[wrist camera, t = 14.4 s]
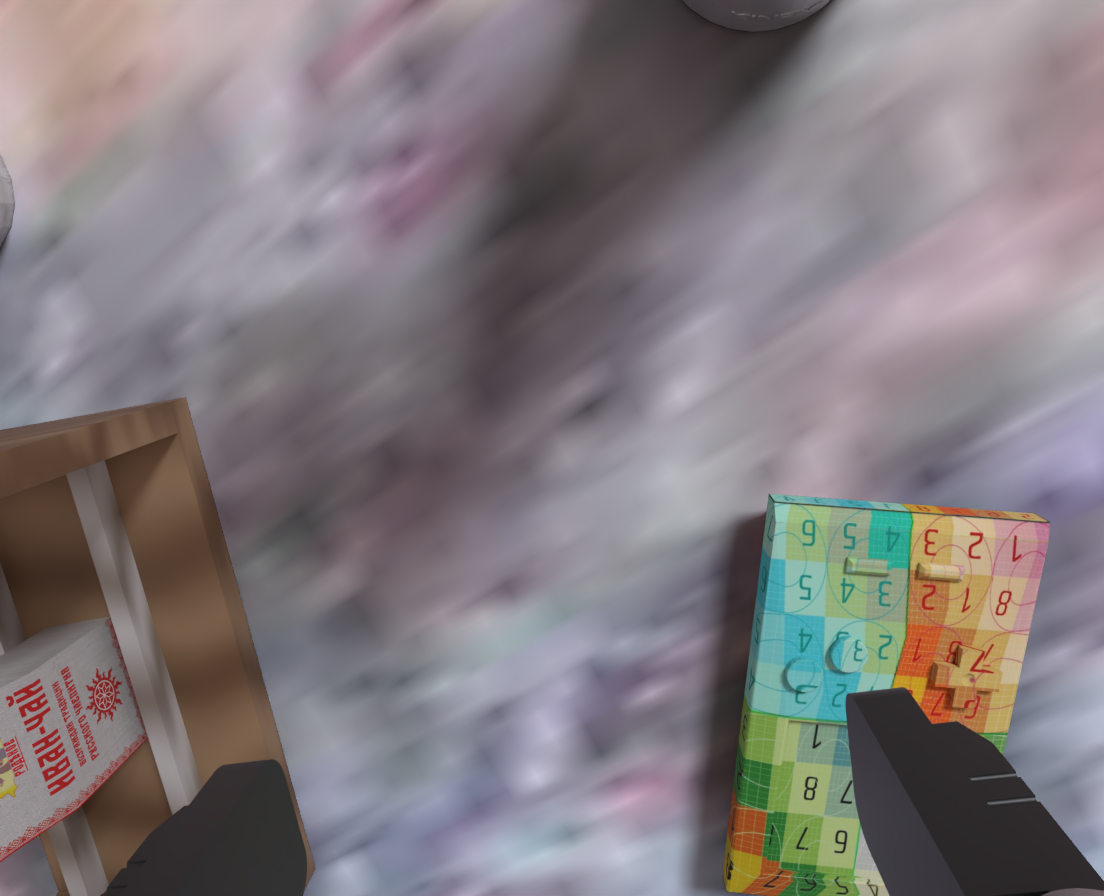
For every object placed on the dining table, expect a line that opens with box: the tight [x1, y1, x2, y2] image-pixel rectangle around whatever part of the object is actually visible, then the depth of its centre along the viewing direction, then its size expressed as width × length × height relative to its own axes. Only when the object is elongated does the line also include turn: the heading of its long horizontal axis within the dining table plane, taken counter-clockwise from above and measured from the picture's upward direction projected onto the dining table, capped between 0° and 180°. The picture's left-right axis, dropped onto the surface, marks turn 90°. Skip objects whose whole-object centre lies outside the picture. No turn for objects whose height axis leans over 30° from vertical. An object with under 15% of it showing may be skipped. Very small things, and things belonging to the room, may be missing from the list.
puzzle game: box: [723, 494, 1050, 896], centre depth 38 cm, size 12×5×20 cm
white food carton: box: [0, 617, 148, 862], centre depth 36 cm, size 4×7×10 cm, turn 12°
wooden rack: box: [0, 397, 315, 896], centre depth 35 cm, size 27×14×16 cm, turn 10°
